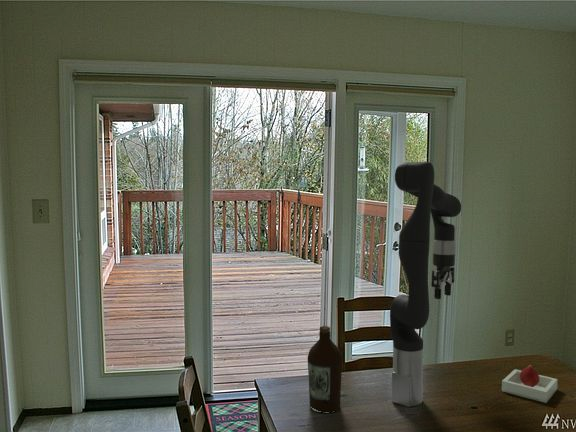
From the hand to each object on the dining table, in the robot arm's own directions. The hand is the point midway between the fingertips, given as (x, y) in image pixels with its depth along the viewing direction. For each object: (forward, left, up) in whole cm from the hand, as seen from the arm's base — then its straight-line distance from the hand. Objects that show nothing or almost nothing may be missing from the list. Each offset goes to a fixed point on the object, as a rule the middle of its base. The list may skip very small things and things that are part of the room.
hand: (442, 297), depth 178 cm
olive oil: (-51, +15, -28) cm, 60 cm away
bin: (+3, -29, -28) cm, 40 cm away
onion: (+3, -29, -27) cm, 40 cm away
